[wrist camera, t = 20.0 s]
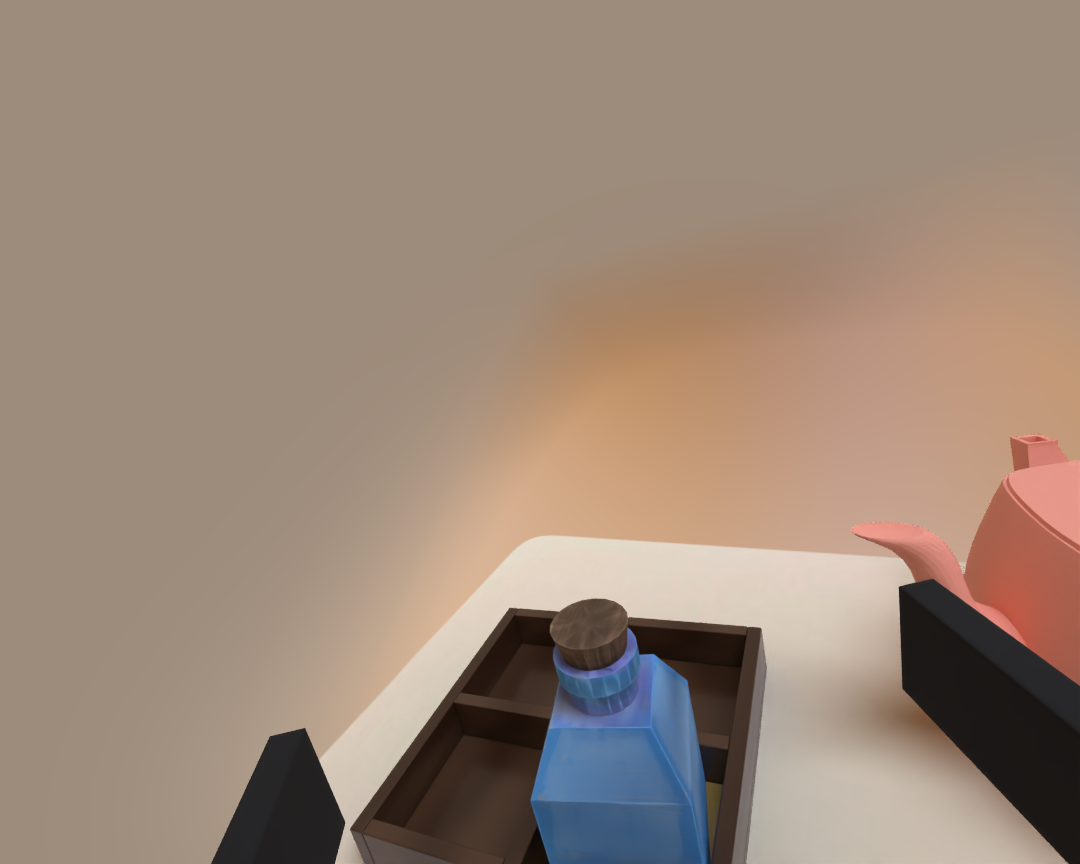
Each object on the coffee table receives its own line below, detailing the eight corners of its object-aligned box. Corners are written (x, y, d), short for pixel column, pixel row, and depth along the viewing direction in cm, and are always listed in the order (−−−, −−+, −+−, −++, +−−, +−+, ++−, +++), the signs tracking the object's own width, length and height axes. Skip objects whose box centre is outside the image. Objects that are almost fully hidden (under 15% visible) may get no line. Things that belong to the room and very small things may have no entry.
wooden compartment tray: (368, 873, 29) (348, 829, 28) (518, 641, 44) (509, 607, 43) (731, 1004, 21) (720, 948, 20) (766, 667, 36) (761, 627, 35)
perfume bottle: (714, 920, 23) (666, 676, 20) (563, 909, 25) (494, 681, 21) (705, 781, 29) (667, 572, 25) (583, 779, 31) (531, 583, 27)
